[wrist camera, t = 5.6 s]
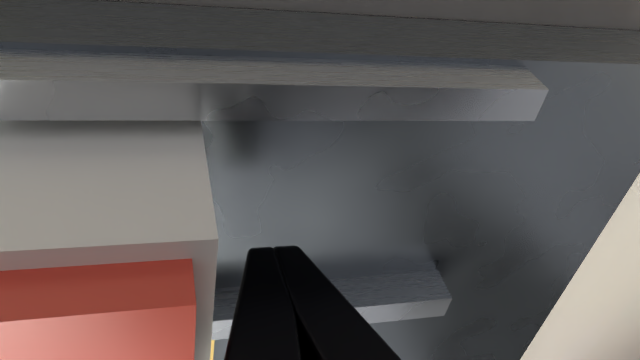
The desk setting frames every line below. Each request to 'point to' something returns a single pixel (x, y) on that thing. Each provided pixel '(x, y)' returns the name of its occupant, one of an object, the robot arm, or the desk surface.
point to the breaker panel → (366, 147)
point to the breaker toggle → (106, 241)
